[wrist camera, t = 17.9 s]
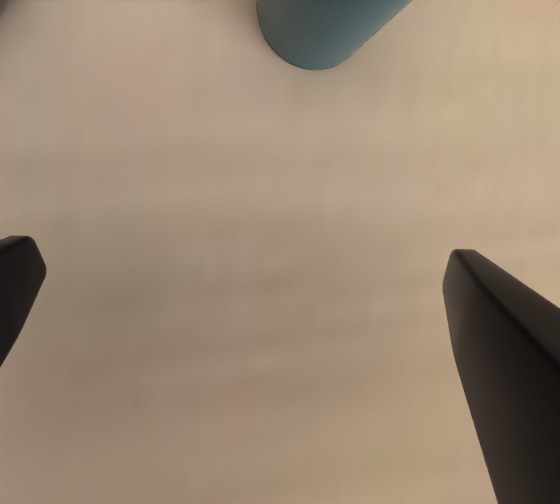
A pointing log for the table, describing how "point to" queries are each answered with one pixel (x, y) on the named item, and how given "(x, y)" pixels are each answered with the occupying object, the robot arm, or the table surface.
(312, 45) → the tin
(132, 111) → the table surface
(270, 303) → the table surface
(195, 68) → the table surface
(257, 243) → the table surface
